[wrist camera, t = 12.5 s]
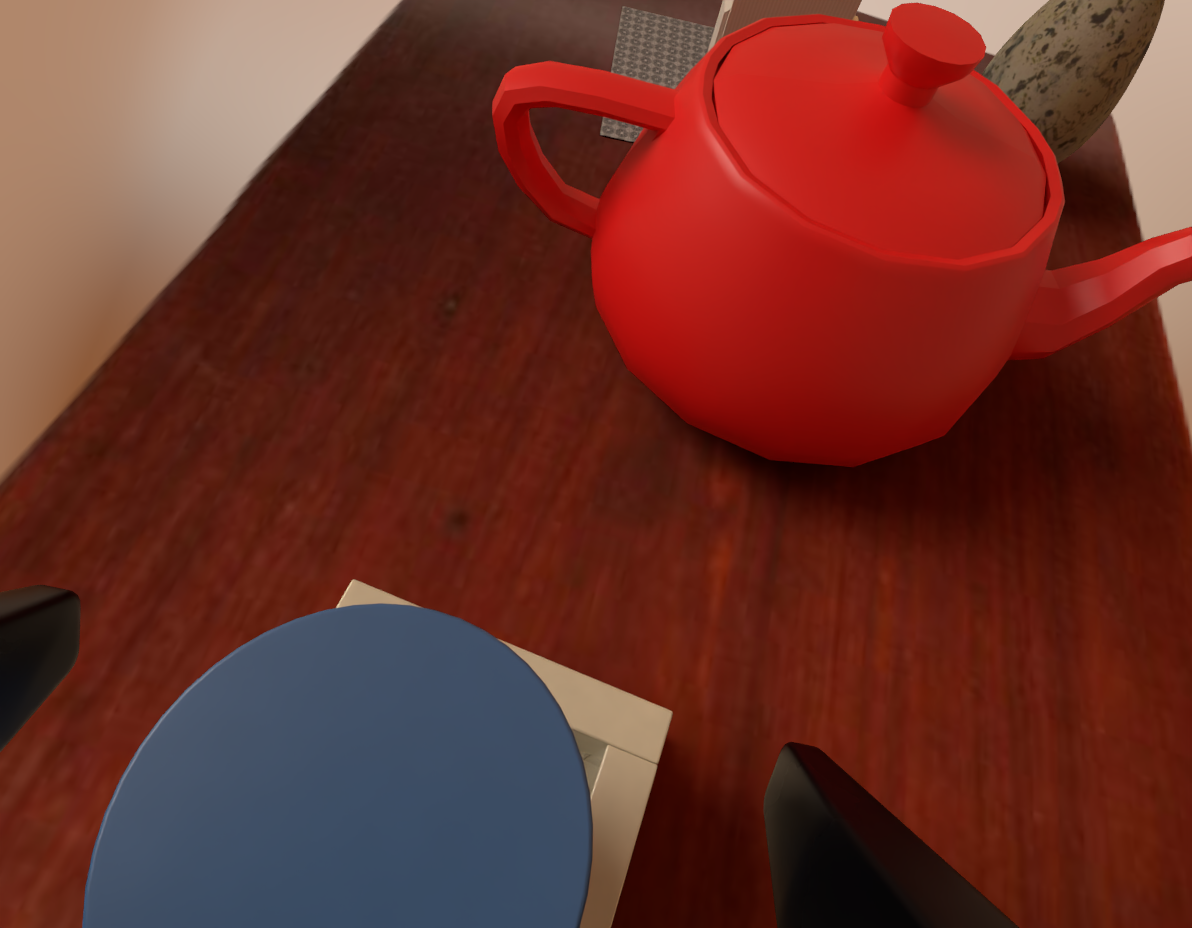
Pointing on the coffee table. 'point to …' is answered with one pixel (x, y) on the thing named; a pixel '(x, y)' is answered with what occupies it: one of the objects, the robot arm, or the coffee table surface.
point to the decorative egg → (1074, 64)
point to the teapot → (826, 232)
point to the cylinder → (352, 788)
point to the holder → (593, 759)
